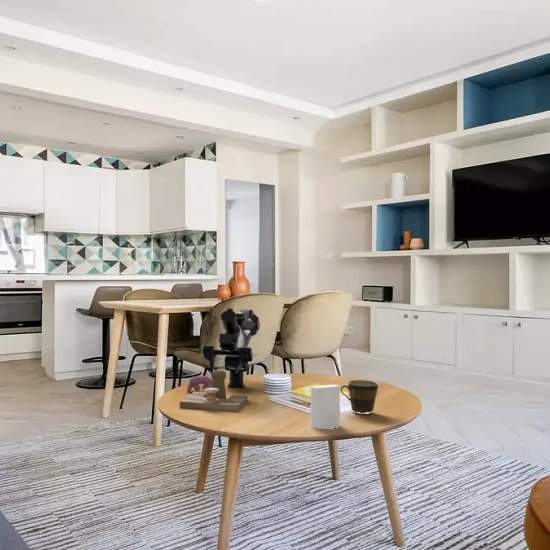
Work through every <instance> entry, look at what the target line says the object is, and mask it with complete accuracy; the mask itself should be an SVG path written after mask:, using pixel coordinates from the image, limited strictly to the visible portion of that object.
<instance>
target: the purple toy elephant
mask: <svg viewBox="0 0 550 550" xmlns="http://www.w3.org/2000/svg"><path fill="white" fill-rule="evenodd" d="M212 383H213V379H212V377H210V376H206V375H197V376H192V377H191V378H190V379H189V381H188V383H187V384H188V385H187V387H186V388H187V389H186V391H187V393H190V392H191V391H192V388H193V390H194V391H195V390H196V391H195V392H199V391H201V390H202V392H204V389H206V388H212ZM200 385H202V387H200ZM200 389H201V390H200ZM198 390H199V391H198Z"/></svg>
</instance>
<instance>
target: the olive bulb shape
mask: <svg viewBox="0 0 550 550" xmlns="http://www.w3.org/2000/svg"><path fill="white" fill-rule="evenodd" d="M226 378H227V372H226V371H225V370H222V369H215V370H214V369H213V371H212V372H211V379H212V380H213V383H212V388H217V389H219V392H217V393H216V398H222V399H227V393H226V392H227V390H226V381H225V379H226Z"/></svg>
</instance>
